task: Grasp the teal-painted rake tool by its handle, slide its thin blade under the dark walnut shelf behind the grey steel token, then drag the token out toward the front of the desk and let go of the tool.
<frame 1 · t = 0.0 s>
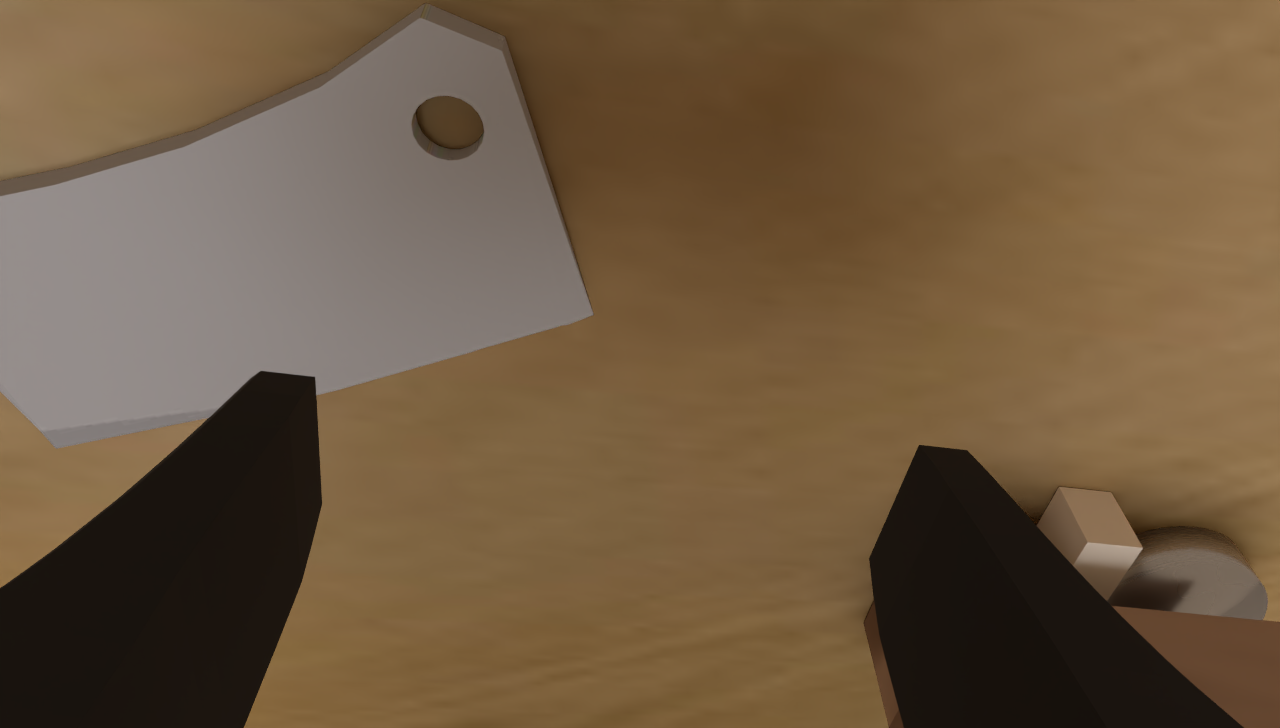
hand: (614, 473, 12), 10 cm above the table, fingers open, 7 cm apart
cabinet: (1038, 574, 28), on the table
token: (1149, 579, 29), on the table
kitchen cleaver: (69, 287, 23), on the table
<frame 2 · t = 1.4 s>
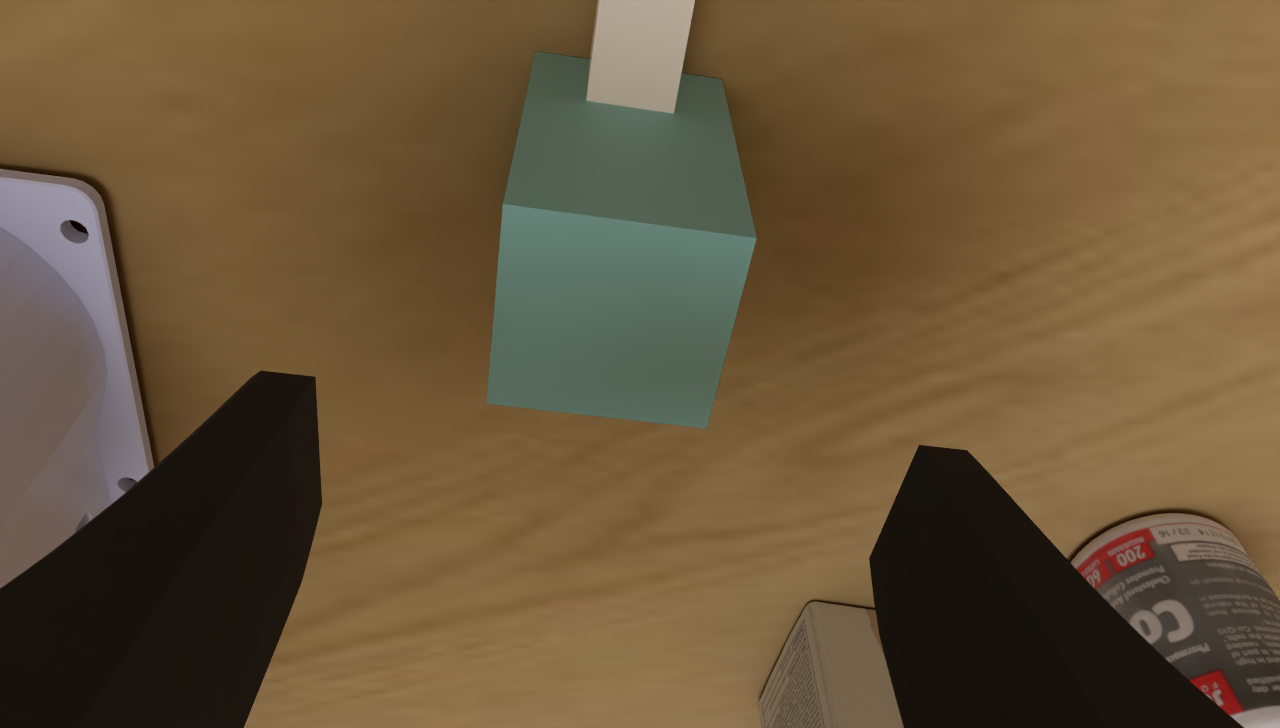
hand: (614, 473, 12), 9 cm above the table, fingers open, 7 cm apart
pill bottle: (1142, 563, 27), on the table
rake tool: (616, 152, 19), on the table
box: (846, 653, 29), on the table
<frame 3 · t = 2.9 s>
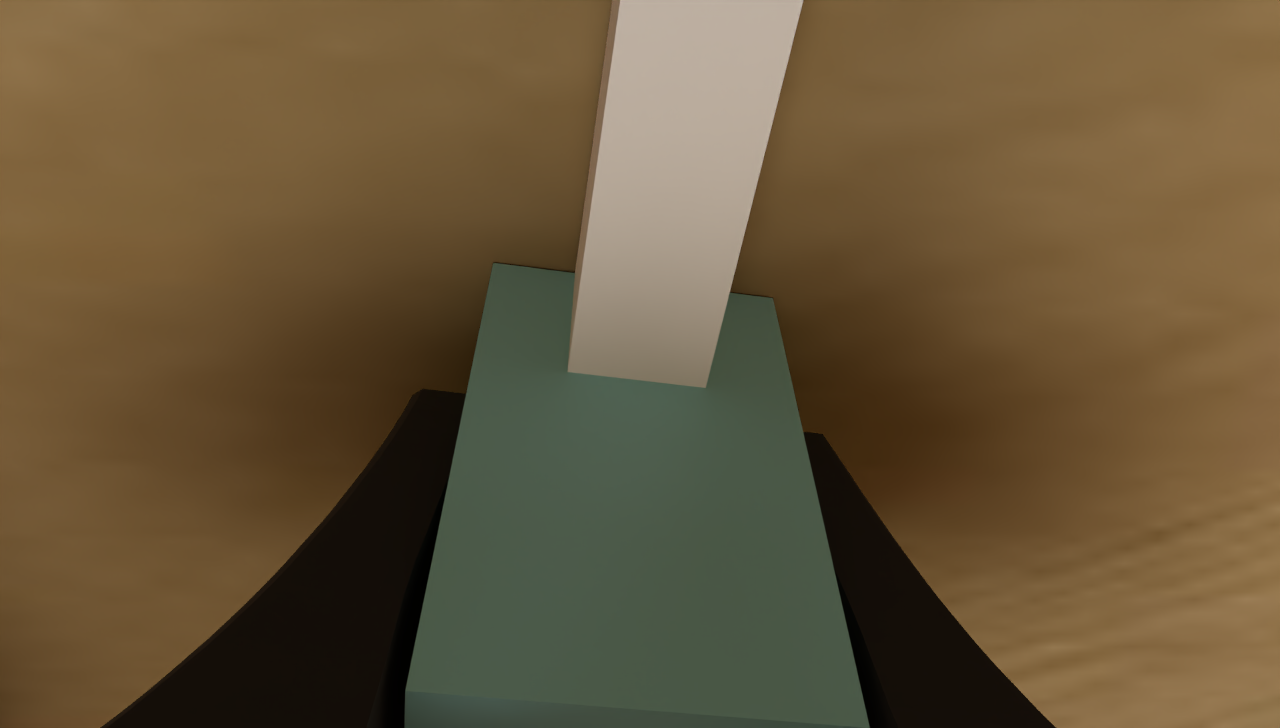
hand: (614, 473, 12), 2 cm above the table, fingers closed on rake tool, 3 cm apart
rake tool: (615, 390, 13), on the table, touching gripper
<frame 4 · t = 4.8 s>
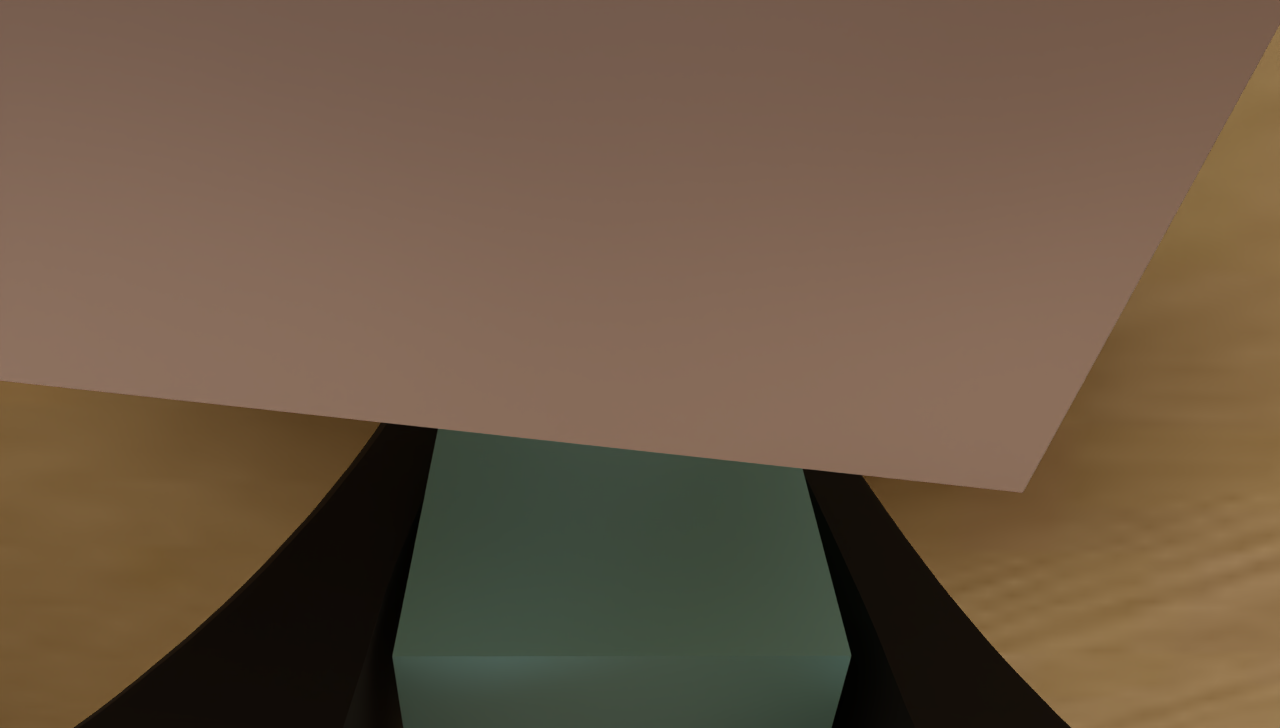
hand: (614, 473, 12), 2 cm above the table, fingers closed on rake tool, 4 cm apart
rake tool: (607, 374, 13), on the table, touching gripper, token
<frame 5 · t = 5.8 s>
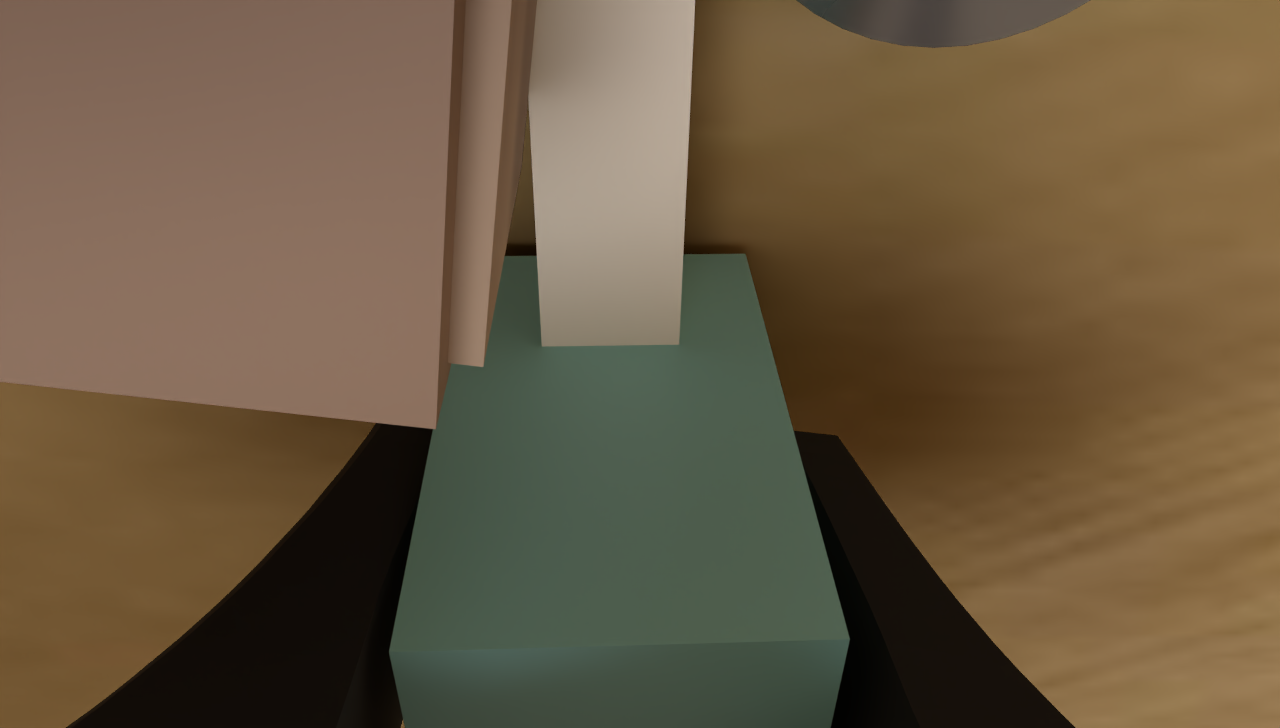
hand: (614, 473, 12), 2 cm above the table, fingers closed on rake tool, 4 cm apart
rake tool: (607, 367, 13), on the table, touching gripper
when the fingers open (2 cm above the table, at t = 6.8 s): rake tool stays where it is, on the table.
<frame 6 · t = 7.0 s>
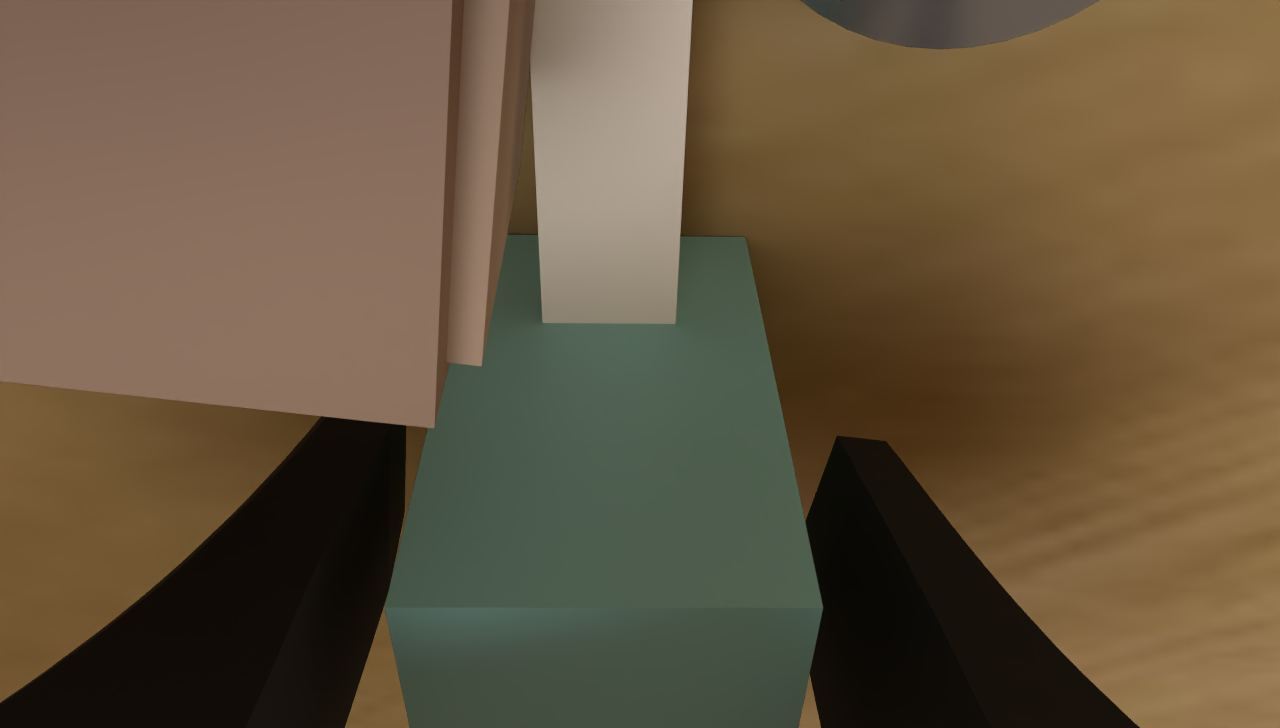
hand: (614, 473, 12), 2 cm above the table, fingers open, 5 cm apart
rake tool: (610, 345, 14), on the table
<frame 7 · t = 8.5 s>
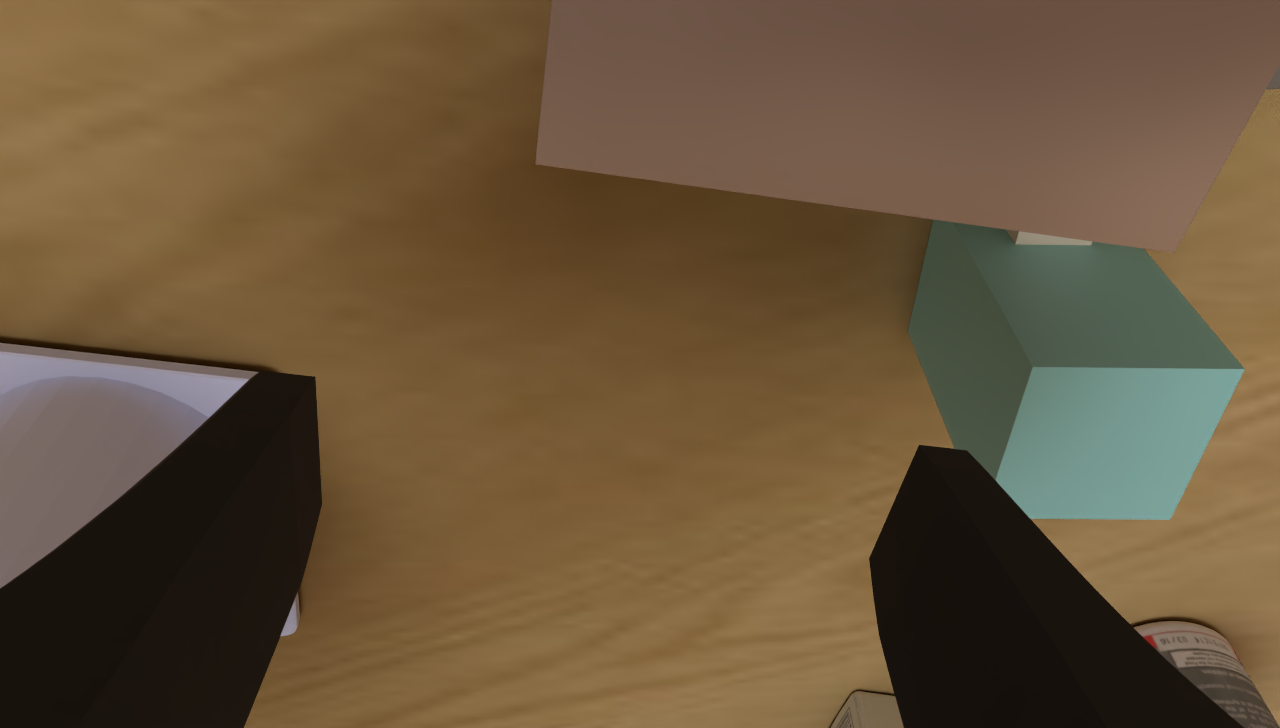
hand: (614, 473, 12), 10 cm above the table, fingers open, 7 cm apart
pill bottle: (1145, 659, 31), on the table
rake tool: (1000, 268, 22), on the table
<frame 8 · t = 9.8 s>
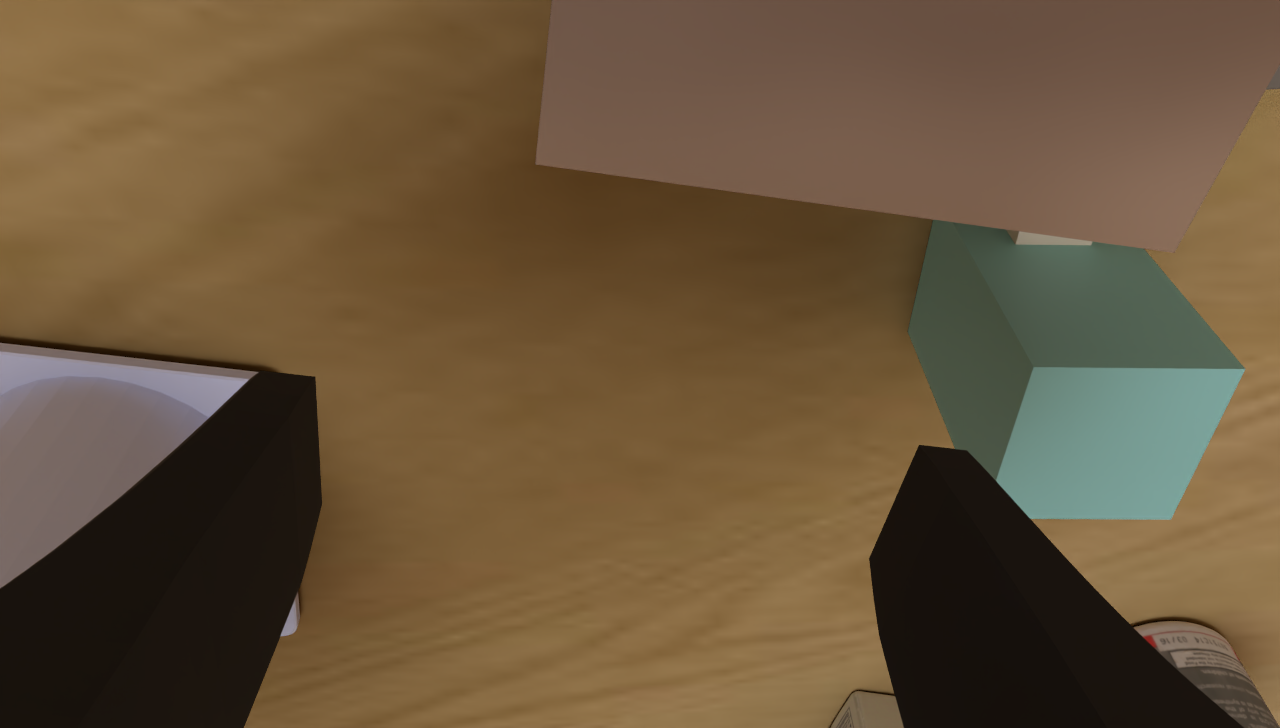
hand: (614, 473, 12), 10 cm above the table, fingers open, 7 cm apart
pill bottle: (1145, 659, 31), on the table
rake tool: (1000, 268, 22), on the table
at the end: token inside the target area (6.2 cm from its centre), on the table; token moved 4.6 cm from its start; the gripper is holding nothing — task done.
